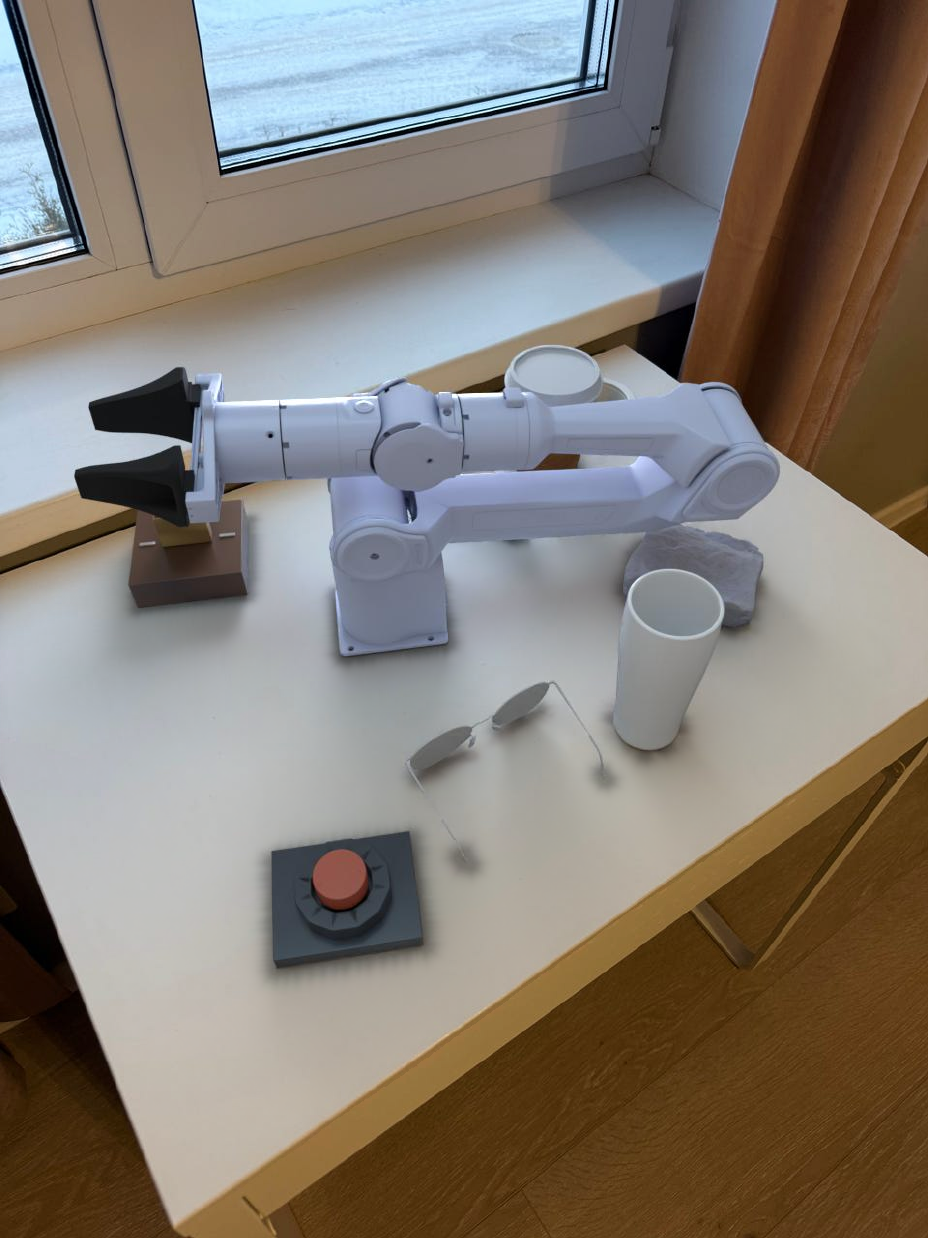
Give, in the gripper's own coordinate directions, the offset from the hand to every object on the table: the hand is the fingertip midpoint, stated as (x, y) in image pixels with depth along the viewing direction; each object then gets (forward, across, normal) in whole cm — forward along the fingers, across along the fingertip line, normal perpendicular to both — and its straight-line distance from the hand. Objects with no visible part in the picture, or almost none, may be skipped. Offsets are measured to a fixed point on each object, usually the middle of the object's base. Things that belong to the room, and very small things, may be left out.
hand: (85, 448), depth 63 cm
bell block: (-16, +26, +20) cm, 37 cm away
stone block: (-50, 0, +18) cm, 53 cm away
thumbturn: (-3, -10, +18) cm, 21 cm away
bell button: (-16, +26, +18) cm, 35 cm away
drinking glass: (-41, +15, +19) cm, 47 cm away
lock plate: (-4, -10, +22) cm, 24 cm away
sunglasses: (-29, +18, +20) cm, 39 cm away
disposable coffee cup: (-40, -18, +19) cm, 47 cm away
